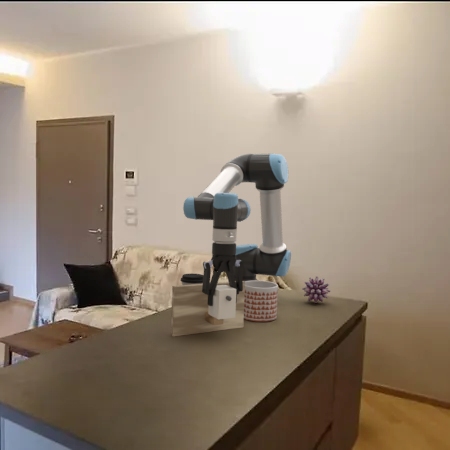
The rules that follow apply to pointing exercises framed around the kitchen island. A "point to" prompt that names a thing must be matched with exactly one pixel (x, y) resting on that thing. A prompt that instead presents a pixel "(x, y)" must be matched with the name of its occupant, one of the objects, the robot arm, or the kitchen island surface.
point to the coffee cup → (192, 279)
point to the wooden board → (200, 311)
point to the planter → (260, 301)
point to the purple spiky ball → (316, 289)
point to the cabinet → (225, 302)
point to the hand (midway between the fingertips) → (221, 314)
